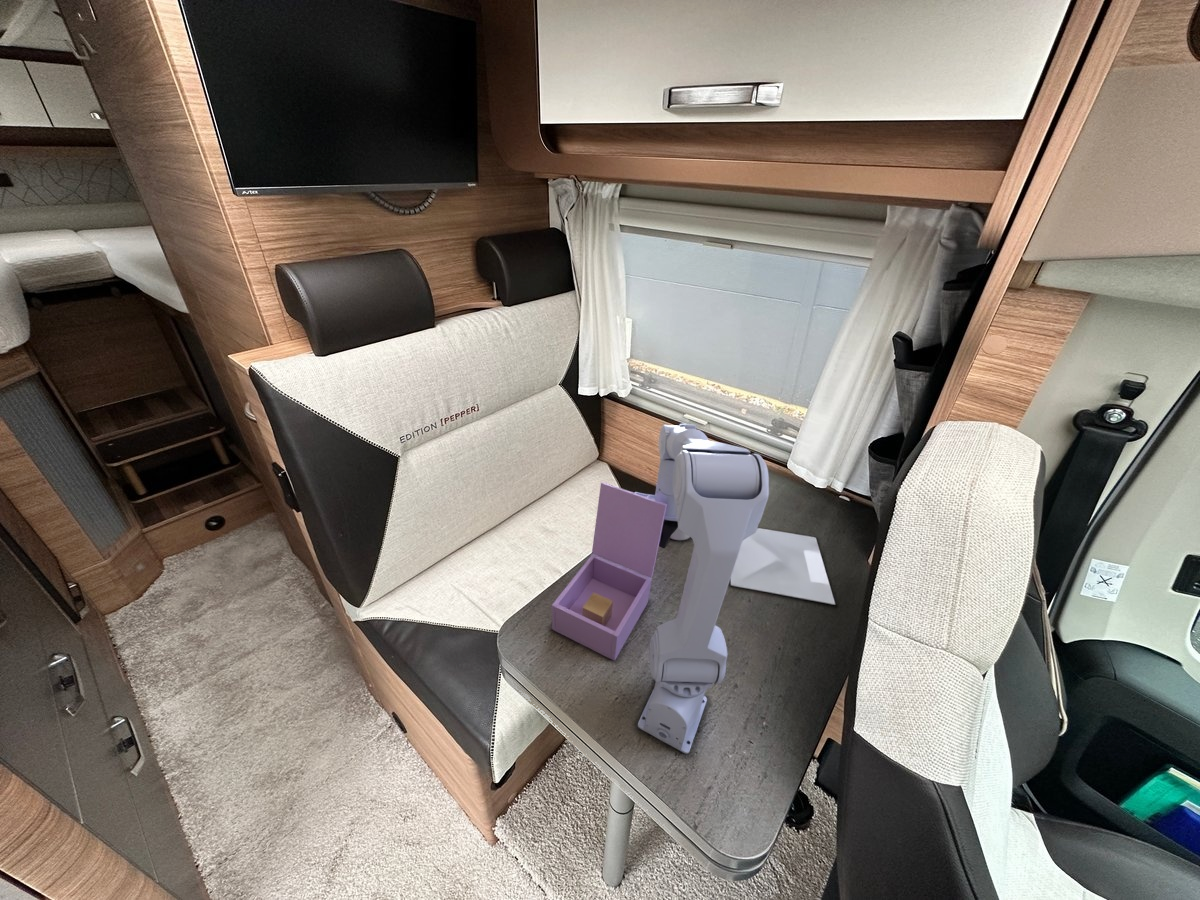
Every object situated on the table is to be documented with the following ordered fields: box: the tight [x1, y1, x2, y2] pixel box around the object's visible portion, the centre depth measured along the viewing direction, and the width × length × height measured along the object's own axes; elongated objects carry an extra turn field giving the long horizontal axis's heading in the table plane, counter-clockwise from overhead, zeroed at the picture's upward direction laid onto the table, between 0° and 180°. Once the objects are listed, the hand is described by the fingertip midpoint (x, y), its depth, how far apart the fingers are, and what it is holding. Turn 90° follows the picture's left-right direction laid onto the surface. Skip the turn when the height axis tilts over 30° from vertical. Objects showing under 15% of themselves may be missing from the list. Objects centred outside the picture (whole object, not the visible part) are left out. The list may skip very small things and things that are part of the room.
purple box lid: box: [591, 481, 667, 578], centre depth 86 cm, size 16×13×1 cm
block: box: [582, 593, 613, 626], centre depth 84 cm, size 4×4×4 cm
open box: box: [551, 553, 653, 662], centre depth 85 cm, size 15×13×6 cm
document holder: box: [730, 527, 836, 606], centre depth 101 cm, size 20×1×20 cm
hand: (663, 544), depth 90 cm, fingers closed
